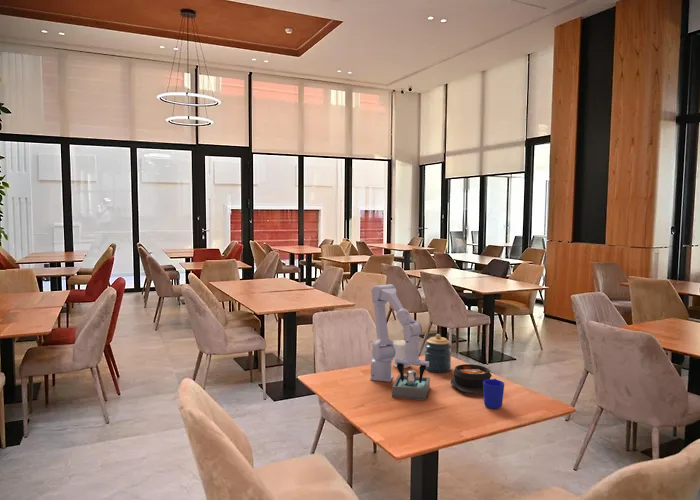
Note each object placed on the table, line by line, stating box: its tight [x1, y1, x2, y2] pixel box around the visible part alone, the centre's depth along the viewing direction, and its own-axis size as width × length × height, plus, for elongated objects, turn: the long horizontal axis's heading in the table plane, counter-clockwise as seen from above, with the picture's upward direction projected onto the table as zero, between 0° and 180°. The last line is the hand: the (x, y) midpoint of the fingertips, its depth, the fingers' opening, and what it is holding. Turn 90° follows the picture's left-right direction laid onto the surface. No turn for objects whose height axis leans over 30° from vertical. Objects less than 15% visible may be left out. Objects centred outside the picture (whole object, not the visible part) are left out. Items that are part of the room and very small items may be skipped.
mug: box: [483, 378, 505, 410], centre depth 202 cm, size 8×12×10 cm
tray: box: [391, 374, 431, 401], centre depth 216 cm, size 14×16×4 cm
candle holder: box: [392, 339, 411, 369], centre depth 253 cm, size 10×10×12 cm
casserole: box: [450, 363, 493, 394], centre depth 223 cm, size 25×19×8 cm
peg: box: [406, 369, 417, 387], centre depth 216 cm, size 4×4×8 cm
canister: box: [424, 333, 452, 373], centre depth 248 cm, size 13×13×18 cm
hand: (411, 381), depth 216 cm, fingers open, 7 cm apart
